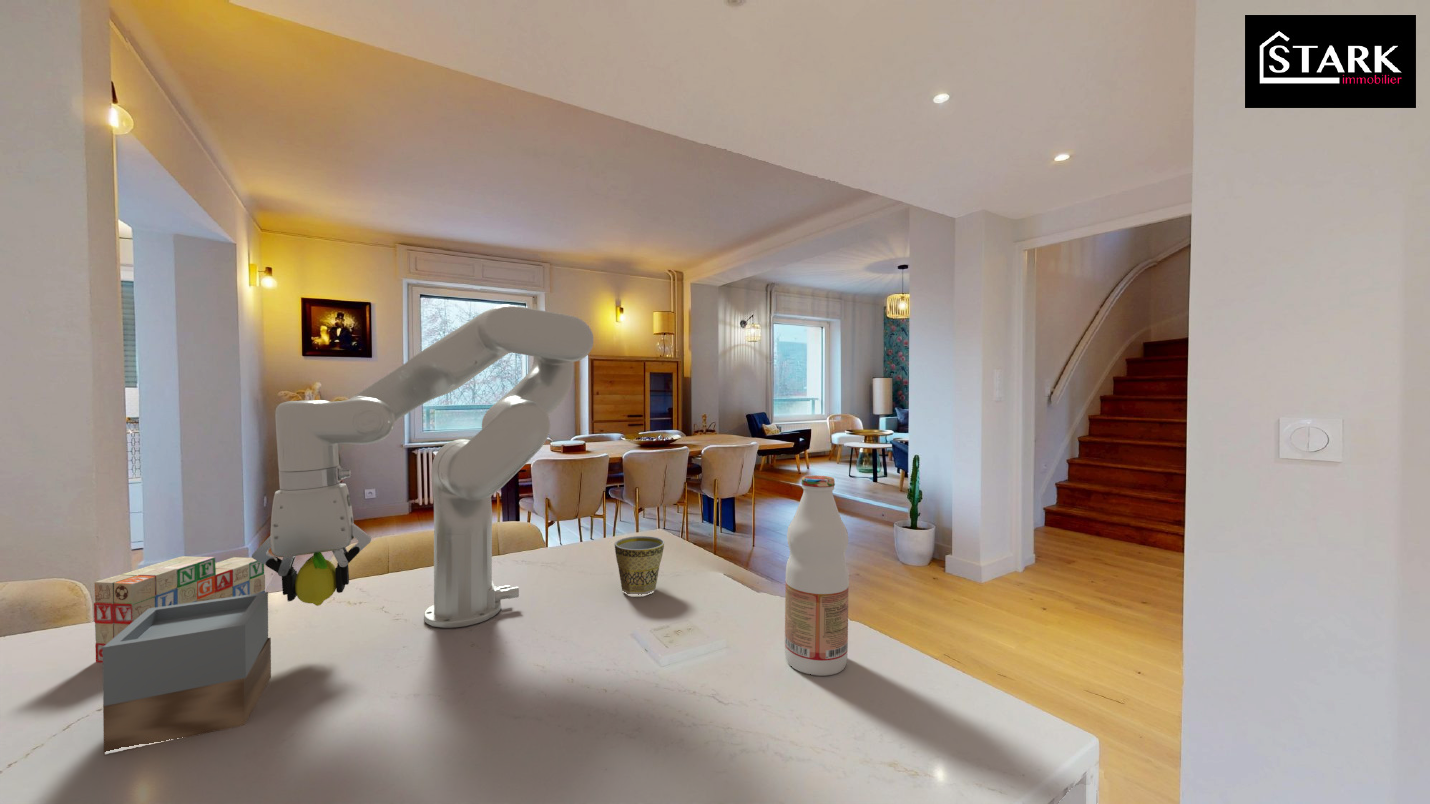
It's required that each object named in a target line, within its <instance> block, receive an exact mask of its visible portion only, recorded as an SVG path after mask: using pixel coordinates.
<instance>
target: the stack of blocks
mask: <svg viewBox="0 0 1430 804" xmlns="http://www.w3.org/2000/svg"><path fill="white" fill-rule="evenodd" d="M263 592H266V575H265V564H262V563H261V562H259V561H257V560H255V559H253V558H252V557H239V556H237V557H236V556H233V557H230V558H227V559H225V560H220V561H217V562H216V557H215V556H190V555H189V556H187V555H186V556H185V555H182V556H178V557H175V558H171V559H168V560H164V561H161V562H158V563H157V562H156V563H154V564H151V565H146V566H145V567H141V568H138V569H135V570H131V571H129V572H128V571H127V572H124V573H121V574H117V575H114V576H111V577H107V578H103V579H101V580H100V579H99V580H97V581H95V582H94V601H95V602H94V603H93V618H94V628H95V632H94V633H95V648H94V649H95V663H102V664H103V647H104V646H105V645H106V644H107V643H108V642H110V641H111V640H112V639H113V638H114V637H115V636H117V635H118V634H119V633H120V632H121V631H123V630H124V629H125V628H126V627H127V626H128V625H130V624H131V623H132V622H133V621H134V620H136V619H137V618H138V617H139V616H140V615H141V614H143V613H144V612H145V611H146V610H147V609H149V608H155V607H163V606H170V605H177V604H184V603H191V602H199V601H206V600H213V599H220V598H227V597H235V596H242V595H249V594H256V593H263Z"/></svg>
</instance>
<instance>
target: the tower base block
mask: <svg viewBox="0 0 1430 804" xmlns="http://www.w3.org/2000/svg"><path fill="white" fill-rule="evenodd" d="M271 644H272V638H271V637H268V639H267V641H266V643H265V645H264V646H263V648H262V650H261V652H260V653H259V655H258V657H257V659H256V661H255V662H254V664H253V666H252V668H251V669H250V671H249V673H248V675H247V677H246V678H243V679H238V680H233V681H228V682H223V683H218V684H213V685H207V686H202V687H197V688H192V689H187V690H182V691H177V692H172V693H167V694H162V695H157V696H152V697H147V698H142V699H137V700H132V701H127V702H122V703H117V704H111V705H106V706H102V707H103V708H102V709H103V714H102V715H103V718H102V719H103V721H102V722H103V753H104V752H106V751H110V750H114V749H119V748H121V747H129V746H134V745H139V744H149V743H154V742H161V741H166V740H169V739H170V740H171V739H177V738H182V737H183V738H182V739H185V738H184V737H187V738H190V737H194V736H195V737H196V736H199V734H200V735H203V734H209V733H214V732H217V731H223V730H227V729H233V728H236V727H240V726H245V724H246V723H247V721H248V719H249V718H250V716H251V714H252V712H253V710H254V708H255V707H256V705H257V704H258V702H259V700H260V698H261V696H262V694H263V693H264V691H265V689H266V687H267V685H268V683H270V680H271V679H272V645H271ZM177 740H178V739H177Z"/></svg>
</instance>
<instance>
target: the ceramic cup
mask: <svg viewBox="0 0 1430 804" xmlns="http://www.w3.org/2000/svg"><path fill="white" fill-rule="evenodd" d="M664 547H665V541H664V540H663V539H662V538H659V537H656V536H648V535H636V536H628V537H627V536H626V537H623V538H619V539H618V540H616V541H615V542H614V552H615V559H616V562H617V566H618V574H619V579H620V584H621V585H620V587H621V592H622V591H624V592H626V593H627V594H638V595H639V594H641V595H642V594H648V593H650V592H652V591H654V592H656V588H657V582H658V577H659V571H660V564H661V562H662V559H663V553H664V549H665V548H664Z"/></svg>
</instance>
